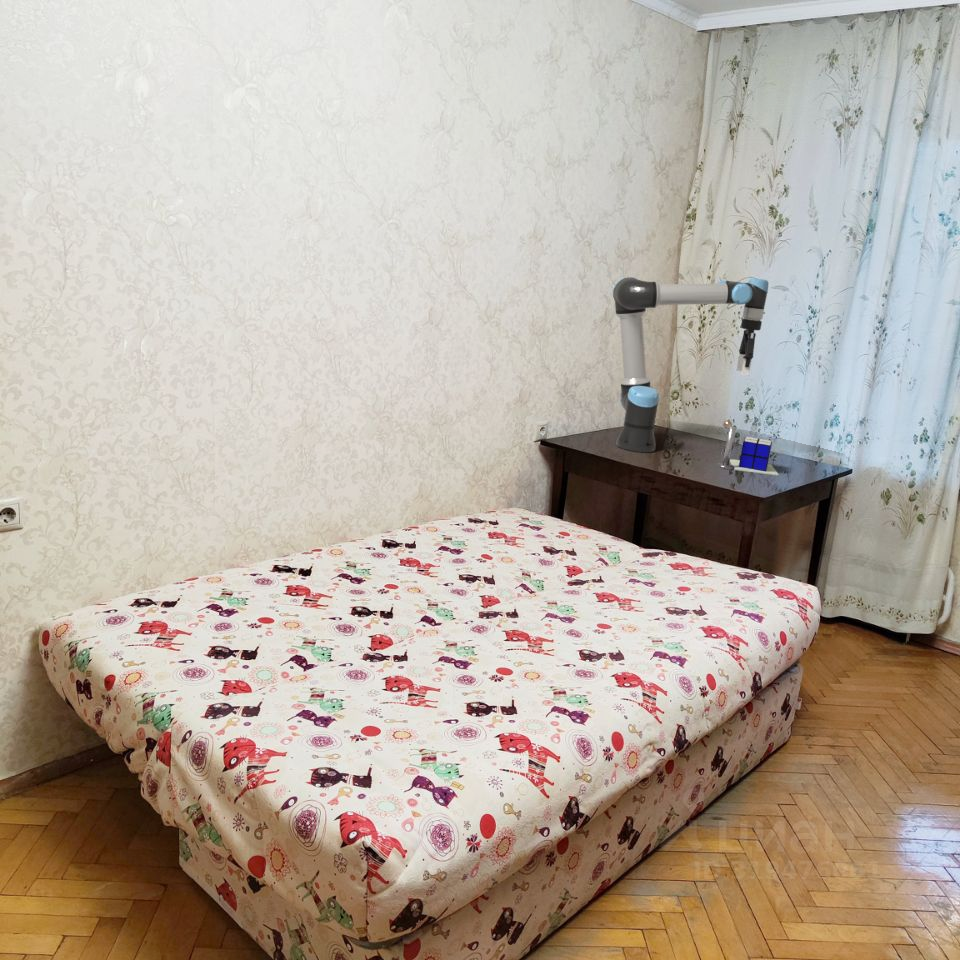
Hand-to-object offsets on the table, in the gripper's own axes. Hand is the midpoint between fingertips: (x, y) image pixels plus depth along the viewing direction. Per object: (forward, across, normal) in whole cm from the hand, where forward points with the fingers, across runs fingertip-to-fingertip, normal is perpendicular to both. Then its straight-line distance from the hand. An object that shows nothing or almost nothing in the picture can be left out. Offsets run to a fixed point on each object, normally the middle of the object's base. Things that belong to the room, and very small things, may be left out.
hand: (742, 373), depth 353 cm
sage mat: (+32, -26, -6) cm, 41 cm away
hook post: (+32, -26, +5) cm, 42 cm away
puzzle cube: (+31, -26, -6) cm, 41 cm away
